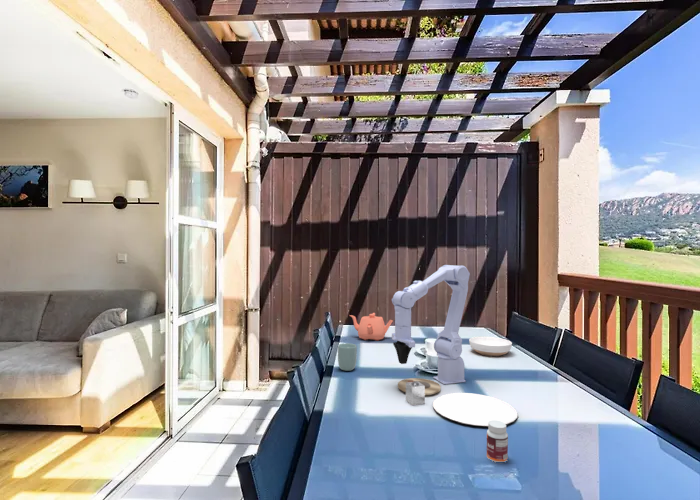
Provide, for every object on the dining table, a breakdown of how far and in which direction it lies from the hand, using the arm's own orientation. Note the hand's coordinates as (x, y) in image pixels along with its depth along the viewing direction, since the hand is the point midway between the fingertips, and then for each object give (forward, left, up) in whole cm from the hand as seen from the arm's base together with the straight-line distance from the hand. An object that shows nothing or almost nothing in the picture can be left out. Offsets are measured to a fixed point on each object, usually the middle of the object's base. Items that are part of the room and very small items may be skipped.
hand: (402, 363), depth 140 cm
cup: (+12, -28, -10) cm, 32 cm away
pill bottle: (0, +49, -10) cm, 50 cm away
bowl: (-62, -31, -10) cm, 70 cm away
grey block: (+2, +12, -10) cm, 15 cm away
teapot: (-19, -77, -10) cm, 80 cm away
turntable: (-5, +2, -9) cm, 11 cm away
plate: (-12, +24, -10) cm, 29 cm away
